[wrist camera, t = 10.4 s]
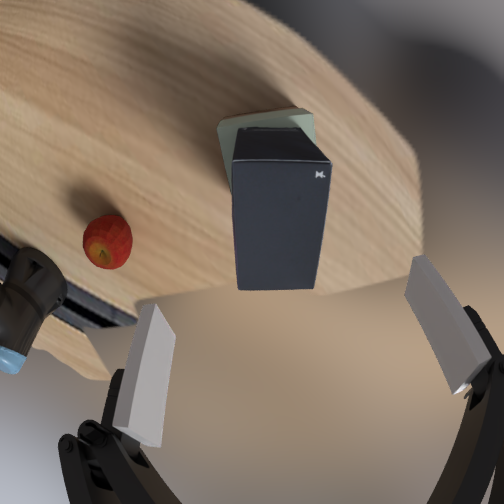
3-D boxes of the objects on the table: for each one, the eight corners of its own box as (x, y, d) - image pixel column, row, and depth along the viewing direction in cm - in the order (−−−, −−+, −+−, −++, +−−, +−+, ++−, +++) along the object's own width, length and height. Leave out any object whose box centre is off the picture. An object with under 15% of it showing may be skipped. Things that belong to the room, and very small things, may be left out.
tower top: (241, 214, 35) (240, 235, 31) (220, 120, 28) (216, 128, 24) (312, 203, 34) (321, 223, 30) (302, 107, 27) (312, 113, 23)
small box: (232, 126, 24) (226, 157, 15) (303, 126, 24) (338, 158, 15) (236, 224, 30) (234, 294, 21) (297, 223, 30) (317, 291, 21)
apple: (122, 197, 37) (101, 224, 31) (149, 238, 41) (134, 269, 35) (88, 217, 39) (65, 244, 32) (114, 253, 43) (97, 284, 37)
